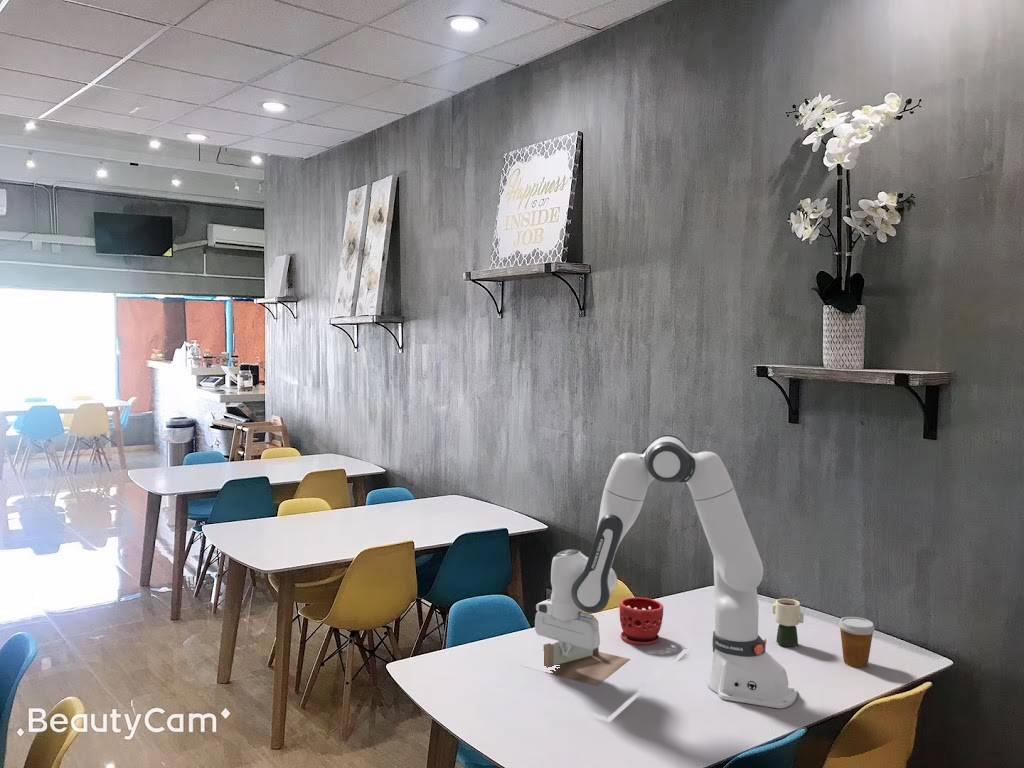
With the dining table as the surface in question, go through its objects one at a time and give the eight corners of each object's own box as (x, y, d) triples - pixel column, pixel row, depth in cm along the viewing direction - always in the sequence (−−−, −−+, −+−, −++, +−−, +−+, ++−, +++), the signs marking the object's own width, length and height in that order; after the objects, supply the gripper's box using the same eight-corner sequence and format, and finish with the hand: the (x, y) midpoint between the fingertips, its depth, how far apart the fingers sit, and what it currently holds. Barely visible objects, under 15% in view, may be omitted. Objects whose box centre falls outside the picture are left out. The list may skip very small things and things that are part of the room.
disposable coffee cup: (835, 666, 226) (836, 624, 226) (839, 654, 235) (840, 614, 234) (872, 672, 222) (873, 630, 221) (875, 660, 230) (876, 619, 230)
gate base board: (630, 662, 229) (630, 631, 228) (597, 689, 211) (597, 655, 210) (557, 645, 242) (557, 615, 241) (519, 669, 224) (520, 637, 223)
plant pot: (650, 653, 235) (650, 613, 235) (611, 643, 243) (611, 604, 243) (670, 640, 246) (670, 601, 245) (632, 630, 254) (632, 593, 253)
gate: (593, 655, 230) (593, 635, 230) (547, 667, 221) (547, 647, 221) (588, 653, 232) (588, 633, 231) (543, 665, 223) (543, 644, 223)
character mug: (810, 647, 240) (811, 604, 239) (794, 652, 236) (795, 609, 235) (779, 636, 249) (780, 595, 248) (764, 641, 245) (765, 599, 244)
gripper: (604, 613, 218) (604, 663, 219) (545, 598, 231) (545, 645, 232) (591, 619, 213) (591, 670, 214) (531, 603, 226) (531, 651, 227)
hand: (567, 657), depth 223 cm, fingers closed
